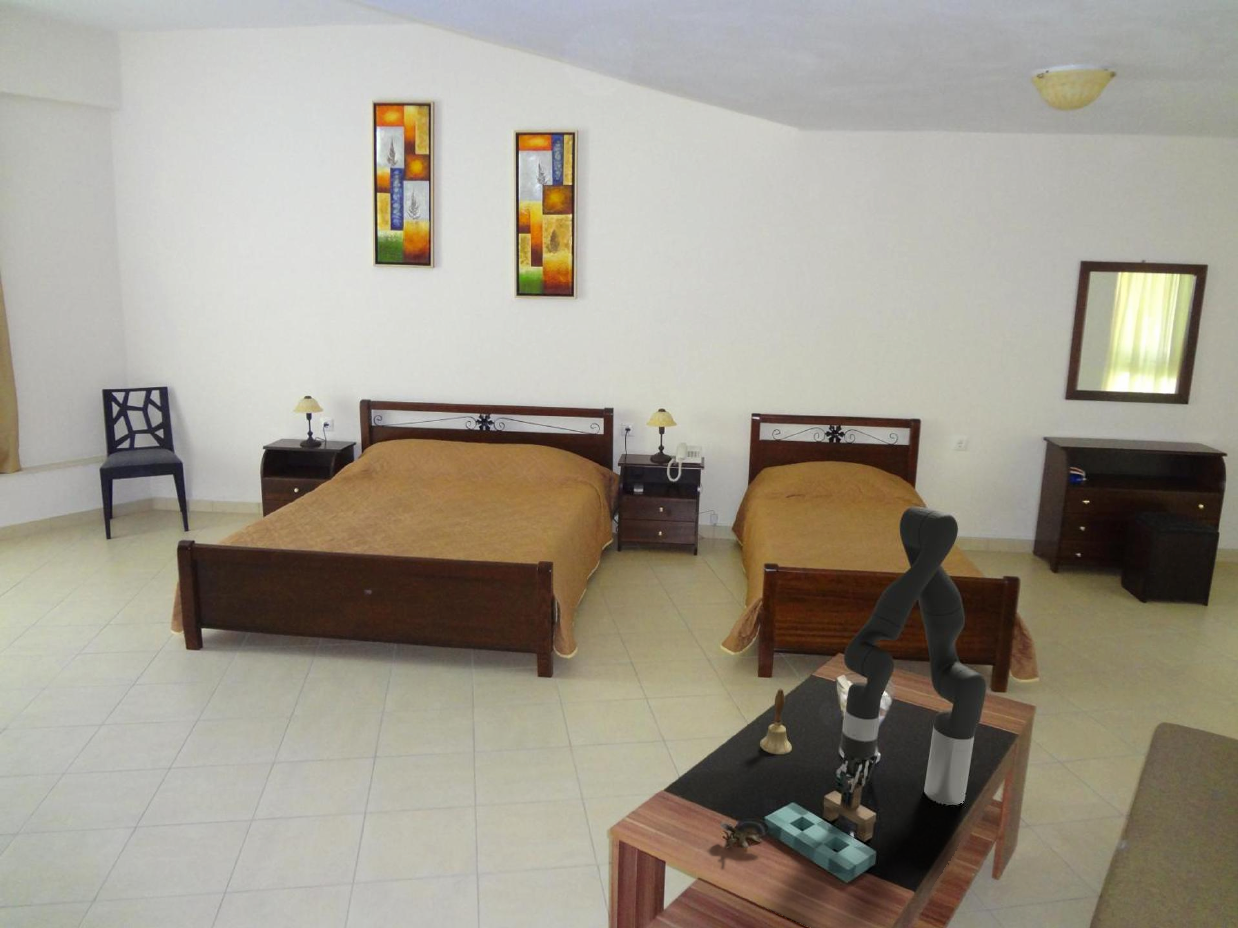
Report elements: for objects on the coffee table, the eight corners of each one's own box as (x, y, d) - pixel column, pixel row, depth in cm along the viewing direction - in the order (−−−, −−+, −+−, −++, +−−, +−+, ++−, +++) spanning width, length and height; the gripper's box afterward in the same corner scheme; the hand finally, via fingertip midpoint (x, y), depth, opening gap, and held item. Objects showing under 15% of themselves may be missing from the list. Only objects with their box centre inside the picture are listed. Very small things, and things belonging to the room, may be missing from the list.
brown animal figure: (742, 858, 183) (775, 840, 188) (728, 824, 185) (762, 806, 189) (724, 857, 190) (757, 839, 194) (712, 824, 191) (744, 807, 196)
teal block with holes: (763, 829, 196) (764, 817, 195) (791, 813, 202) (793, 801, 202) (846, 882, 179) (848, 869, 179) (874, 864, 186) (876, 851, 185)
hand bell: (754, 747, 231) (760, 690, 228) (767, 735, 238) (773, 680, 234) (784, 758, 226) (790, 700, 223) (796, 745, 233) (802, 689, 230)
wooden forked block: (821, 817, 201) (826, 776, 199) (832, 812, 203) (837, 770, 201) (862, 842, 193) (868, 799, 191) (873, 835, 195) (879, 793, 193)
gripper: (855, 747, 186) (846, 821, 189) (892, 728, 195) (883, 799, 198) (826, 732, 191) (818, 804, 195) (863, 715, 200) (855, 784, 204)
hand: (851, 801), depth 197 cm, fingers closed on wooden forked block, 3 cm apart
